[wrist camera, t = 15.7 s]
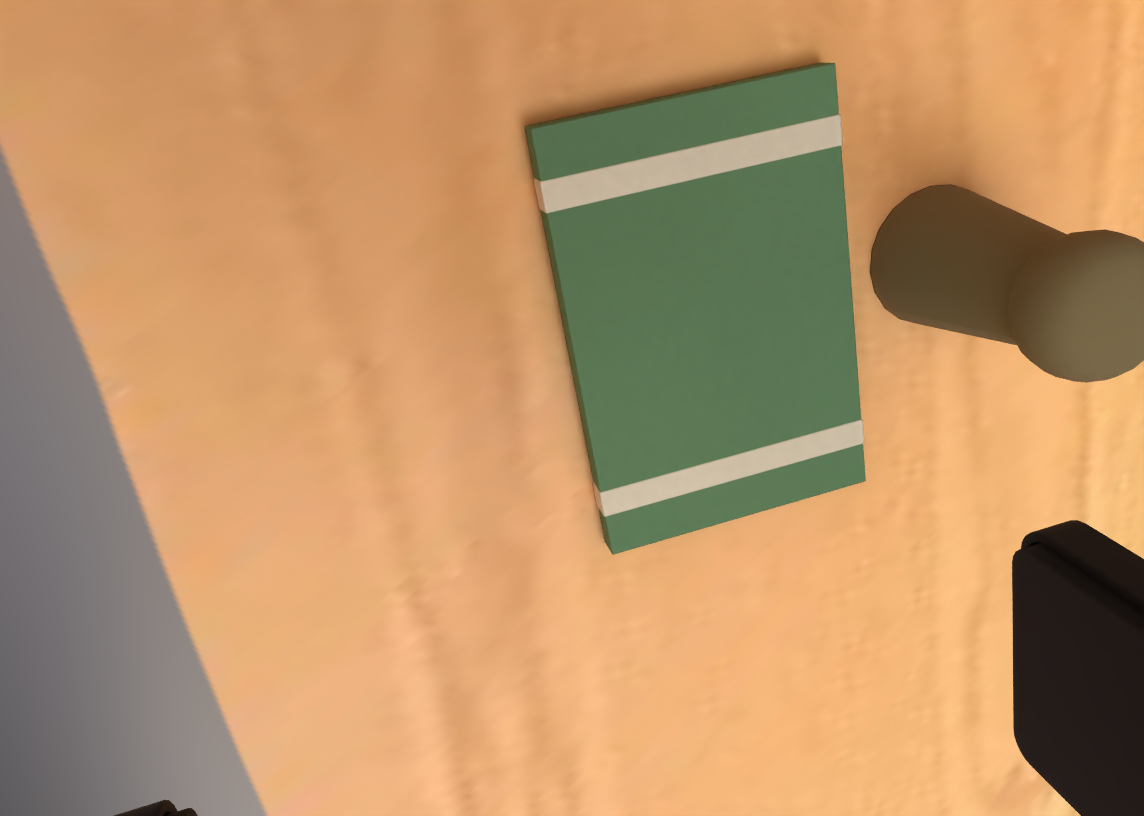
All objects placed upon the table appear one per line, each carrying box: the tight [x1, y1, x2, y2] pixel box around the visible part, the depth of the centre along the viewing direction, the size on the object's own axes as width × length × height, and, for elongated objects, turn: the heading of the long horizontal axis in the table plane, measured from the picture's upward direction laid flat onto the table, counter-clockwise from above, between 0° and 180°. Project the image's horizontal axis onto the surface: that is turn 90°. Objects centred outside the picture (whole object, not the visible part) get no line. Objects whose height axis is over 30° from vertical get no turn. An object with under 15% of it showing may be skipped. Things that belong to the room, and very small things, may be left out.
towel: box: [525, 63, 866, 554], centre depth 39 cm, size 18×12×1 cm
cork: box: [870, 185, 1144, 382], centre depth 36 cm, size 6×6×11 cm
